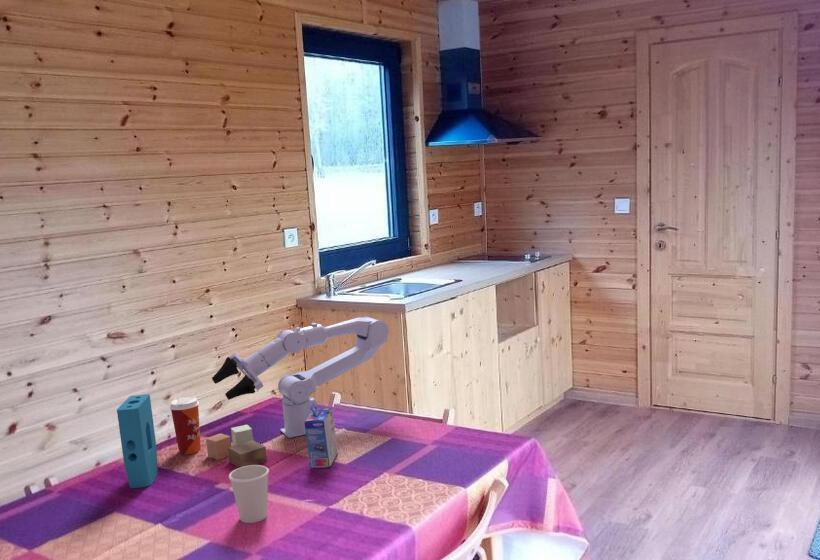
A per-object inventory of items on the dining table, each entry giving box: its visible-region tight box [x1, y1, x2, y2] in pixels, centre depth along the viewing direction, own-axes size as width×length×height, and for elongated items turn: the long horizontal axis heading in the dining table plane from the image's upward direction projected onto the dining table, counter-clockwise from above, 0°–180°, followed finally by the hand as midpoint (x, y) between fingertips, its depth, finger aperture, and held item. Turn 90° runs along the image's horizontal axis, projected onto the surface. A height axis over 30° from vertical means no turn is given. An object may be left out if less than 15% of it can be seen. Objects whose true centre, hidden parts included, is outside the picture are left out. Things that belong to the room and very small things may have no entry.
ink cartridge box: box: [304, 403, 338, 469], centre depth 192 cm, size 10×6×14 cm, turn 174°
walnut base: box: [228, 439, 268, 468], centre depth 196 cm, size 7×7×4 cm
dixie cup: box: [228, 464, 270, 524], centre depth 163 cm, size 8×8×10 cm
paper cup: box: [169, 396, 201, 455], centre depth 207 cm, size 8×8×14 cm
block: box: [116, 393, 159, 489], centre depth 188 cm, size 12×5×20 cm, turn 4°
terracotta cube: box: [205, 433, 232, 461], centre depth 202 cm, size 4×4×5 cm
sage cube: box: [230, 424, 254, 446], centre depth 208 cm, size 4×4×5 cm
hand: (219, 389), depth 204 cm, fingers open, 7 cm apart
